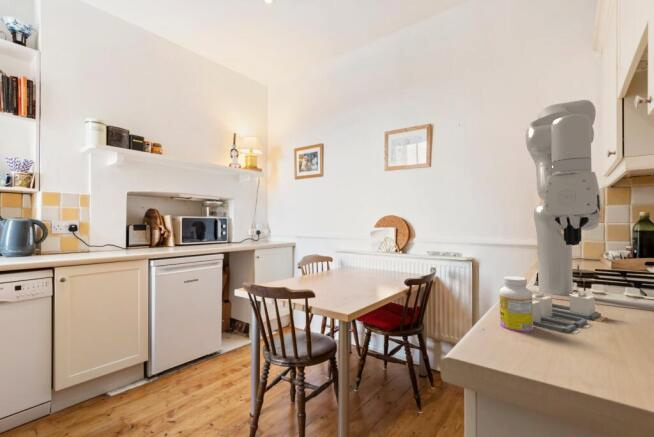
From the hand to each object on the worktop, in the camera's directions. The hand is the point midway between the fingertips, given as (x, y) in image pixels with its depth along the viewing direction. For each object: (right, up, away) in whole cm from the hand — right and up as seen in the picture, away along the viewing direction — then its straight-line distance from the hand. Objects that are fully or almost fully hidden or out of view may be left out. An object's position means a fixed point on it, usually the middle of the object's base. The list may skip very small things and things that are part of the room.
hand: (572, 244), depth 76 cm
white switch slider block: (+7, -19, +6) cm, 21 cm away
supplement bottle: (-14, -21, -2) cm, 25 cm away
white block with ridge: (-4, -19, +6) cm, 20 cm away
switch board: (-1, -20, +4) cm, 21 cm away
